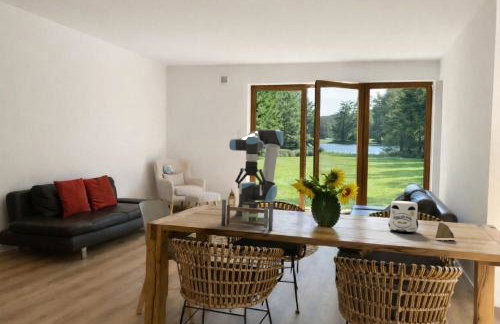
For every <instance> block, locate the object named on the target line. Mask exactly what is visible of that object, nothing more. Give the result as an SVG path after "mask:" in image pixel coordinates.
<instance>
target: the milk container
mask: <svg viewBox="0 0 500 324" xmlns="http://www.w3.org/2000/svg"><path fill="white" fill-rule="evenodd" d="M418 208H419V207H418V203H417V202H414V201H413V202H412V201H409V200H408V201H407V200H406V201H405V200H392V201H391V203H390V213H389V215H390V216H389V219H388V222H387V223H388V228H389V229H390V231H393V232H396V231H398V232H397V233H401V232H413V233H416V232H417V231H418V230H419V221H418Z"/></svg>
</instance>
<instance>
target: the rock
mask: <svg viewBox="0 0 500 324" xmlns="http://www.w3.org/2000/svg"><path fill="white" fill-rule="evenodd" d="M436 229H437V230H436V234H435V238H455V236H454V235H455V234H454V233H453V232H452V231H451V228H450V227H449V226H448V225H447V224H445V223H444V222H439V223H438V226H437V228H436Z"/></svg>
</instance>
